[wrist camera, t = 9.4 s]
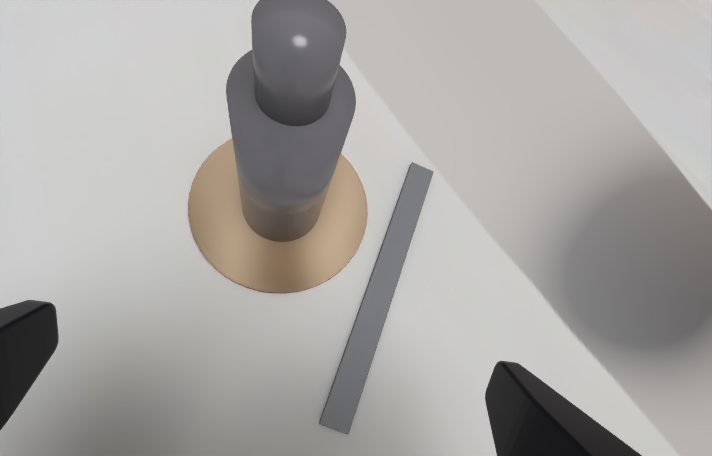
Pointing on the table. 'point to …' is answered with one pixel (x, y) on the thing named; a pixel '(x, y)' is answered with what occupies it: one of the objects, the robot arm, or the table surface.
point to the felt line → (376, 303)
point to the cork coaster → (265, 257)
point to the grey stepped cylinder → (289, 115)
